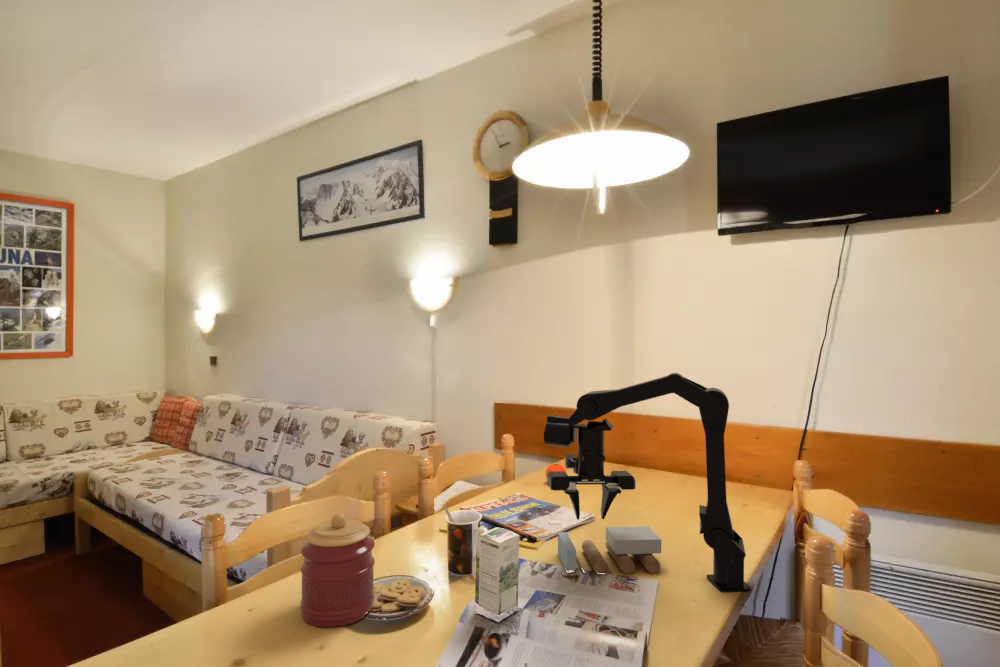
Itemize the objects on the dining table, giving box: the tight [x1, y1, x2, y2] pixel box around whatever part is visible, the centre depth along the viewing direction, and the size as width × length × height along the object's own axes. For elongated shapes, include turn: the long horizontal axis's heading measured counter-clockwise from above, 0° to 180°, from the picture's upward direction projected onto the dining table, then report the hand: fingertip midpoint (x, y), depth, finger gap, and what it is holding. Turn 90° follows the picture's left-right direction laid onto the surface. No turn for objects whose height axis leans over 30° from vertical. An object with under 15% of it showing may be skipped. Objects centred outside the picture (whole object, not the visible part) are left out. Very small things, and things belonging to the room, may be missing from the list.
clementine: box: [545, 462, 567, 479], centre depth 182 cm, size 8×7×7 cm
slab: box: [605, 525, 662, 555], centre depth 121 cm, size 8×10×3 cm
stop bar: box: [557, 531, 577, 571], centre depth 120 cm, size 10×2×5 cm, turn 5°
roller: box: [581, 539, 610, 574], centre depth 120 cm, size 12×3×3 cm
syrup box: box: [474, 526, 520, 615], centre depth 99 cm, size 6×6×14 cm
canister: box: [300, 513, 376, 628], centre depth 99 cm, size 13×13×18 cm
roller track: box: [576, 540, 661, 575], centre depth 121 cm, size 12×17×3 cm
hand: (590, 518), depth 120 cm, fingers open, 5 cm apart
